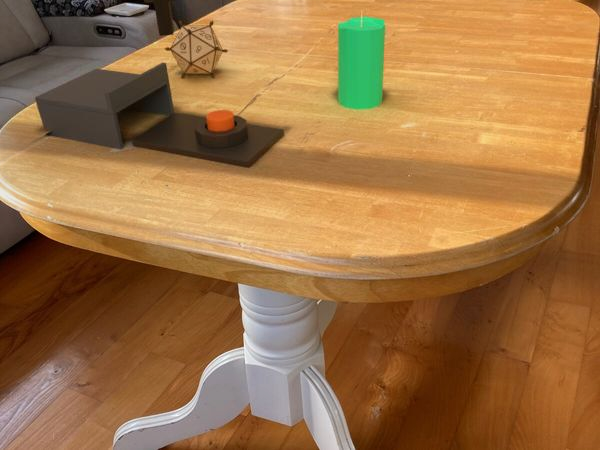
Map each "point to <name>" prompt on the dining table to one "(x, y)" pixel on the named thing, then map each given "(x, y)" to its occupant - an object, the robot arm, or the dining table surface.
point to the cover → (103, 104)
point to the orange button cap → (220, 120)
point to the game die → (196, 49)
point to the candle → (361, 62)
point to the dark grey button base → (209, 139)
